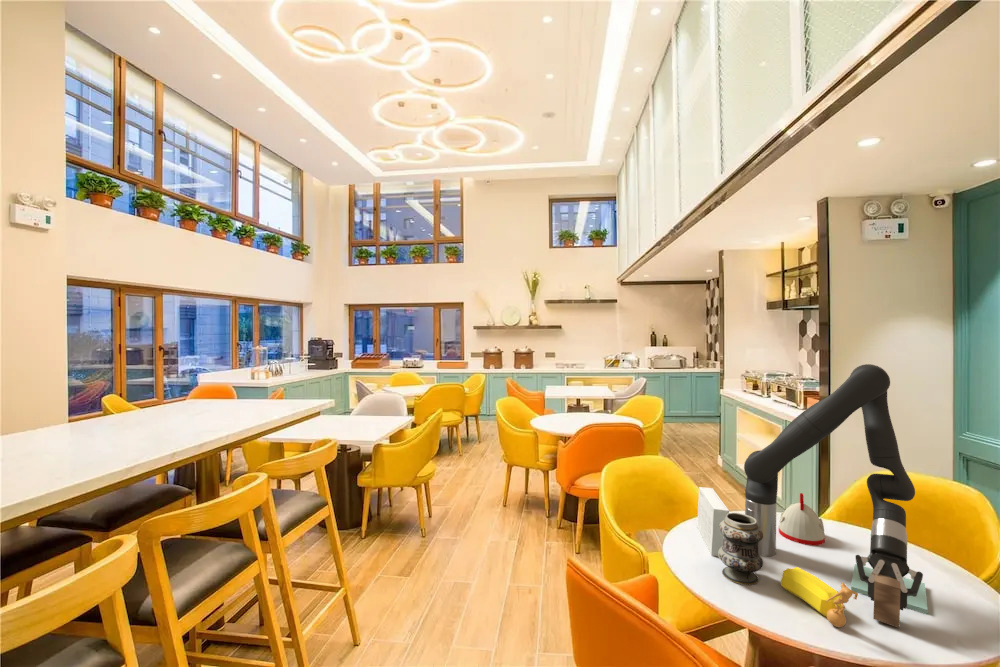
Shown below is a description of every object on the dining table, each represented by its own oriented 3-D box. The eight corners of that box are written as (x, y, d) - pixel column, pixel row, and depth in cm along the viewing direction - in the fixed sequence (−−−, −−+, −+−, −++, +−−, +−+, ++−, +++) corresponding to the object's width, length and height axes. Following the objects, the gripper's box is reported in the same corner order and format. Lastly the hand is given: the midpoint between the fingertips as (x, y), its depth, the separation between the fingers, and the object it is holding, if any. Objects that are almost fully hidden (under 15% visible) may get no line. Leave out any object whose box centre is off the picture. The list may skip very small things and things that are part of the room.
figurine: (843, 618, 117) (844, 573, 117) (865, 634, 111) (866, 587, 111) (815, 621, 116) (815, 576, 116) (835, 637, 110) (836, 589, 110)
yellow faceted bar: (794, 581, 134) (772, 584, 133) (794, 559, 134) (772, 562, 132) (853, 619, 117) (830, 624, 115) (854, 594, 117) (830, 598, 115)
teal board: (851, 590, 129) (851, 586, 129) (854, 567, 141) (854, 563, 141) (927, 614, 119) (927, 609, 119) (924, 587, 131) (924, 583, 131)
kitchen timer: (823, 533, 164) (823, 492, 164) (826, 549, 153) (827, 505, 152) (778, 524, 172) (779, 485, 171) (778, 538, 160) (779, 497, 160)
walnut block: (873, 619, 116) (874, 581, 115) (874, 609, 119) (875, 572, 119) (899, 627, 112) (900, 588, 112) (899, 617, 116) (900, 580, 116)
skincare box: (729, 558, 147) (729, 510, 147) (711, 556, 148) (711, 509, 148) (712, 529, 168) (712, 487, 167) (696, 527, 169) (697, 486, 169)
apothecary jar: (767, 575, 137) (768, 517, 137) (756, 593, 128) (757, 530, 128) (724, 561, 145) (725, 506, 145) (712, 576, 136) (713, 518, 136)
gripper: (854, 526, 126) (850, 587, 117) (925, 543, 116) (926, 611, 107) (855, 538, 130) (851, 598, 121) (923, 555, 120) (924, 621, 112)
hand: (886, 604), depth 114 cm, fingers closed on walnut block, 5 cm apart
